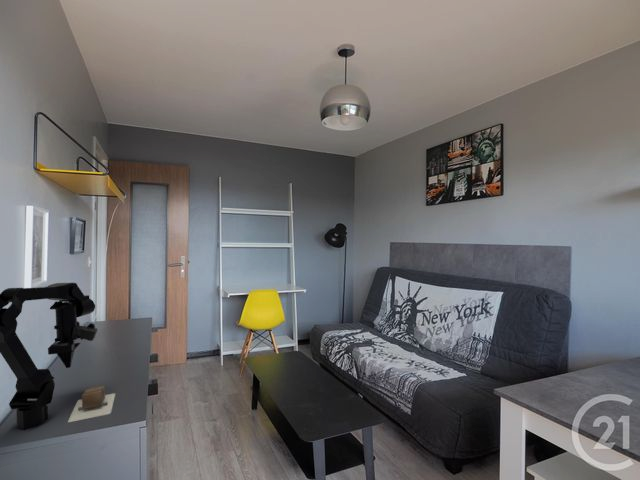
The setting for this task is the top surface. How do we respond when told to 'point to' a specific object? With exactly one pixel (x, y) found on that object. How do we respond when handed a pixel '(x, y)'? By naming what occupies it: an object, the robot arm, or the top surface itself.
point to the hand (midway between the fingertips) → (68, 367)
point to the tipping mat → (92, 409)
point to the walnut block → (93, 397)
